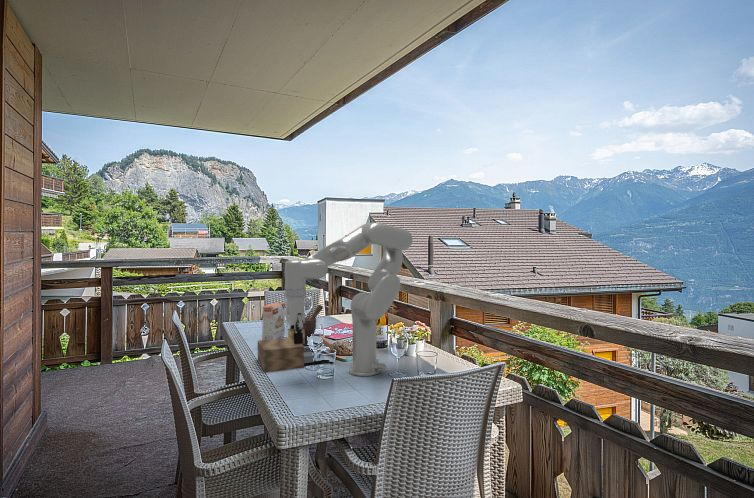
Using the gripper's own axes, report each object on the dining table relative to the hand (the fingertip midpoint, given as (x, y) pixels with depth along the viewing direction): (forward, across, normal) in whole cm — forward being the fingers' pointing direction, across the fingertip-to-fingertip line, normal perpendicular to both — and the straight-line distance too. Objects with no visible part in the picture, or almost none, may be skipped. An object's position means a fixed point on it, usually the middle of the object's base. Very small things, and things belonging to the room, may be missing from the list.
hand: (296, 341), depth 159 cm
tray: (+15, -25, +12) cm, 31 cm away
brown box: (+15, -25, -1) cm, 29 cm away
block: (+1, 0, 0) cm, 1 cm away
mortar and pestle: (+16, -53, +21) cm, 59 cm away
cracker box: (+15, -56, +3) cm, 58 cm away
